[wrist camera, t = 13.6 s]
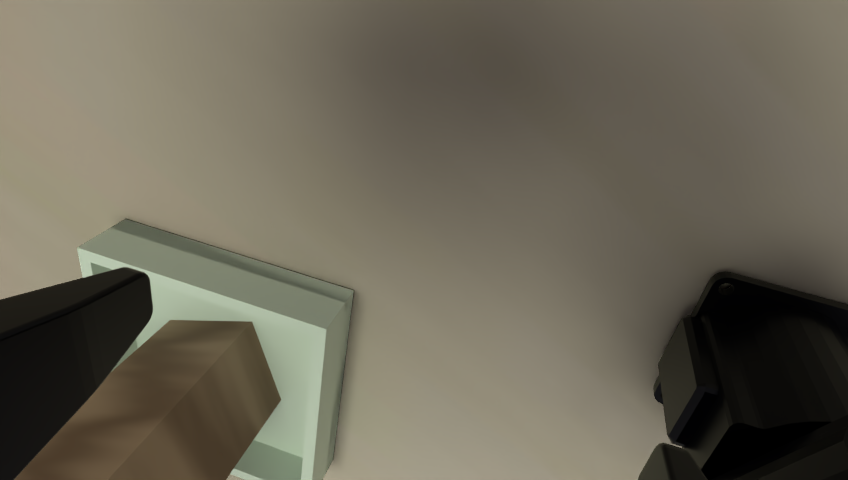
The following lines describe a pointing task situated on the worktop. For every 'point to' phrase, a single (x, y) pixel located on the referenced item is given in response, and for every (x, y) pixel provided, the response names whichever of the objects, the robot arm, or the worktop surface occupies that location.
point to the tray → (274, 324)
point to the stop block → (169, 410)
